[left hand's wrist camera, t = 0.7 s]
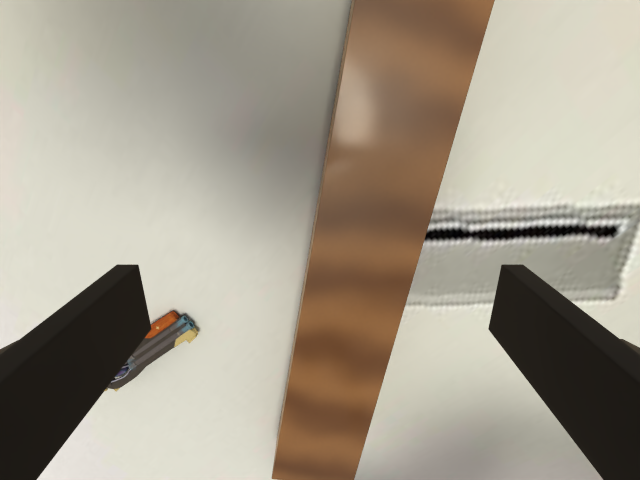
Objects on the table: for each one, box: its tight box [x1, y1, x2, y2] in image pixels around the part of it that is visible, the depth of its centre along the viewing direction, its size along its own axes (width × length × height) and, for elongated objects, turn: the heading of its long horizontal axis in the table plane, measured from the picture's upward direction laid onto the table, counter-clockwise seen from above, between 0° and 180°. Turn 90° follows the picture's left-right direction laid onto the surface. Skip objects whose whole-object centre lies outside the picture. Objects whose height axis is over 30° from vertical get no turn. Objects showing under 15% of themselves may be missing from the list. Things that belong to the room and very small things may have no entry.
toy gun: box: [105, 311, 198, 391], centre depth 43 cm, size 3×19×10 cm
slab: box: [272, 0, 494, 480], centre depth 34 cm, size 73×10×6 cm, turn 170°
